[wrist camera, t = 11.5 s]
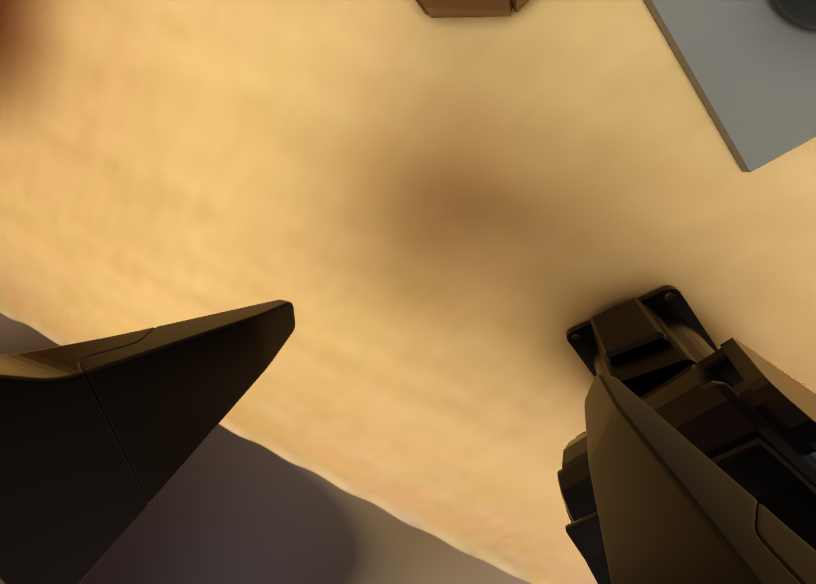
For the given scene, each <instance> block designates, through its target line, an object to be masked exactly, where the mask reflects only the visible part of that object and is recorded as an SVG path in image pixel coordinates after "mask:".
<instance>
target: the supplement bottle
mask: <svg viewBox="0 0 816 584" xmlns="http://www.w3.org/2000/svg"><path fill="white" fill-rule="evenodd" d="M774 2H775V4H776V6H777V7H778V8H779V9H780V11H781V12H782V13H783V14H784V15H785V16H786V17H787V18H789V19H790V20H792V21H793V22H795V23H797V24H799V25H801V26H804V27H807V28H810V29H815V30H816V0H774Z"/></svg>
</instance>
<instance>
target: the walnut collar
mask: <svg viewBox="0 0 816 584" xmlns="http://www.w3.org/2000/svg"><path fill="white" fill-rule="evenodd" d="M416 1H417V3H418V4H419V5H420V7H421V8H422V10H423V11H424V12H425V14H427V13H429V15H430V16H431V17H476V16H510V14H511V8H512V5H513V7H514V8H515V10H516V12H518V11H519V10H520V9H521V8H522V7H523V6H524V5H525V4H526V3H527V1H528V0H416Z"/></svg>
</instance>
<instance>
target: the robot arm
mask: <svg viewBox="0 0 816 584" xmlns="http://www.w3.org/2000/svg"><path fill="white" fill-rule="evenodd" d="M667 293H673V294H672V296H671V297H668V298H665V295H666V294H667ZM294 328H295V317H294V308H293V305H292V303H291V302H288V301H284V300H275V301H271V302H266V303H262V304H257V305H253V306H248V307H244V308H239V309H235V310H230V311H226V312H221V313H217V314H212V315H208V316H203V317H199V318H194V319H190V320H185V321H181V322H176V323H172V324H167V325H163V326H158V327H156V328H149V329H145V330H140V331H135V332H131V333H126V334H121V335H117V336H112V337H106V338H101V339H96V340H91V341H85V342H80V343H75V344H69V345H64V346H58V347H53V348H47V349H42V350H37V351H31V352H25V353H18V354H8V355H0V584H79V583H80V582H81V581H82V580H83V579H84V578H85V576H86V575H87V574H88V573H89V572H90V571H91V569H92V568H93V567H94V566H95V565H96V564H97V563H98V561H99V560H100V559H101V558H102V557H103V556H104V555H105V553H106V552H107V551H108V550H109V549H110V548H111V547H112V545H113V544H114V543H115V542H116V541H117V540H118V539H119V537H120V536H121V535H122V534H123V533H124V532H125V530H126V529H127V528H128V527H129V526H130V525H131V524H132V522H133V521H134V520H135V519H136V518H137V517H138V516H139V514H140V513H141V512H142V511H143V509H145V508H146V506H147V505H148V504H149V502H150V501H151V500H152V499H153V498H154V497H155V496H156V495H157V493H158V492H159V491H160V490H161V489H162V487H164V485H165V484H166V483H167V482H168V481H169V480H170V479H171V477H172V476H173V475H174V474H175V473H176V472H177V471H178V469H179V468H180V467H181V466H182V465H183V464H184V463H185V461H186V460H187V459H188V458H189V457H190V456H191V454H192V453H193V452H194V451H195V450H196V449H197V448H198V446H199V445H200V444H201V443H202V442H203V441H204V439H205V438H206V437H207V436H208V435H209V434H210V433H211V431H212V430H213V429H214V428H215V427H216V426H217V425H218V424H219V422H220V421H221V420H222V419H223V418H224V417H225V416H226V414H227V413H228V412H229V411H230V410H231V409H232V408H233V406H234V405H235V404H236V403H237V402H238V401H239V399H240V398H241V397H242V396H243V395H244V394H245V393H246V391H247V390H248V389H249V388H250V387H251V386H252V385H253V383H254V382H255V381H256V380H257V379H258V378H259V377H260V375H261V374H262V373H263V372H264V371H265V370H266V368H267V367H268V366H269V364H270V363H271V362H272V360H273V359H274V358H275V356H276V355H277V353H278V352H279V351H280V349H281V348H282V346H283V345H284V344H285V342H286V341H287V339H288V338H289V337H290V335H291V334H292V332H293V331H294ZM575 334H576V335H579V336H578V337H577V338H572V336H573V335H575ZM566 336H567V340H568V342H569V343H570V344H571V346H572V347H573V348H574V350H575V351H576V352H577V354H578V355H579V356H580V358H581V359H582V360H583V362H584V363H585V365H586V366H587V367H588V369H589V370H590V371H591V373H592V374H593V375H594V377H595V378H594V380H593V382H592V384H591V387H590V389H589V392H588V394H587V396H586V399H585V418H586V432H583V433H581V434H580V435H578V436H577V437H576V438H575V439H574V440H572V441H570V443H569V444H568V445H567V446H566V448H565V449H564V452H563V462H562V469H561V470H559V471H558V482H559V486H560V490H561V495H562V498H563V500H564V503H565V506H566V510H567V513H568V515H569V518H570V520H571V522H572V523H570V524H568V525H566V532H567V534H568V535H569V537H570V538H571V540H572V541H573V543H574V544H575V546H576V547H577V548H578V550H579V551H580V553H581V554H582V556H583V557H584V559H585V560H586V562H587V564H588V566H589V568H590V570H591V572H592V574H593V575H594V577H595V579H596V581H597V583H598V584H816V394H815V393H813V392H812V391H810V390H809V389H807V388H806V387H805V386H803V385H802V384H800V383H799V382H797V381H796V380H794V379H793V378H791V377H790V376H788V375H787V374H786V373H784V372H783V371H781V370H780V369H778V368H777V367H775V366H774V365H772V364H771V363H769V362H768V361H767V360H765V359H764V358H762V357H761V356H759V355H758V354H756V353H755V352H753V351H752V350H750V349H749V348H748V347H746V346H745V345H743V344H742V343H740V342H739V341H737V340H736V339H734V338H733V337H732V338H731V339H729V340H728V341H726V342H724V343H723V344H721V345H720V346H721V348H720V349H717V348H716V346H715V345H714V343H713V341H712V340H711V338H710V337H709V335H708V334H707V332H706V331H705V329H704V328H703V326H702V325H701V323H700V322H699V320H698V319H697V317H696V316H695V314H694V313H693V311H692V309H691V308H690V306H689V305H688V303H687V302H686V300H685V299H684V297H683V296H682V294H681V293H680V292H679V291H678V290H677V289H676V288H675V287H673V286H665V287H662V288H660V289H658V290H656V291H653V292H651V293H649V294H647V295H644V296H642V297H640V298H638V299H631V300H629V301H626V302H624V303H622V304H620V305H618V306H615V307H613V308H611V309H609V310H607V311H604V312H602V313H600V314H598V315H596V316H593V317H592V319H591V320H589V321H587V322H585V323H583V324H580V325H578V326H576V327H574V328H572V329H570V330H568V331H567V333H566Z"/></svg>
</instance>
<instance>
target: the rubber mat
mask: <svg viewBox="0 0 816 584" xmlns="http://www.w3.org/2000/svg"><path fill="white" fill-rule="evenodd" d="M644 2H645V3H646V5H647V7H648V9H649V10H650V12H651V14H652V16H653V17H654V19H655V21H656V23H657V24H658V26H659V28H660V29H661V31H662V33H663V35H664V36H665V38H666V40H667V42H668V43H669V45H670V47H671V48H672V50H673V52H674V54H675V55H676V57H677V59H678V61H679V62H680V64H681V66H682V67H683V69H684V71H685V73H686V74H687V76H688V78H689V80H690V81H691V83H692V85H693V87H694V88H695V90H696V92H697V93H698V95H699V97H700V99H701V100H702V102H703V104H704V106H705V107H706V109H707V111H708V112H709V114H710V116H711V118H712V119H713V121H714V123H715V125H716V126H717V128H718V130H719V131H720V133H721V135H722V137H723V138H724V140H725V142H726V144H727V145H728V147H729V149H730V151H731V152H732V154H733V156H734V157H735V159H736V161H737V163H738V164H739V166H740V168H741V170H742V171H745V172H752V171H753V170H755V169H757V168H759V167H761V166H763V165H764V164H766V163H768V162H770V161H772V160H774V159H775V158H777V157H779V156H781V155H783V154H785V153H786V152H788V151H790V150H792V149H794V148H796V147H797V146H799V145H801V144H803V143H805V142H807V141H808V140H810V139H812V138H814V137H816V30H815V29H810V28H807V27H804V26H801V25H799V24H797V23H795V22H793V21H792V20H790V19H789V18H787V17H786V16H785V15H784V14H783V13H782V12H781V11H780V9H779V8H778V7H777V6H776V4H775V2H774V0H644Z"/></svg>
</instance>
